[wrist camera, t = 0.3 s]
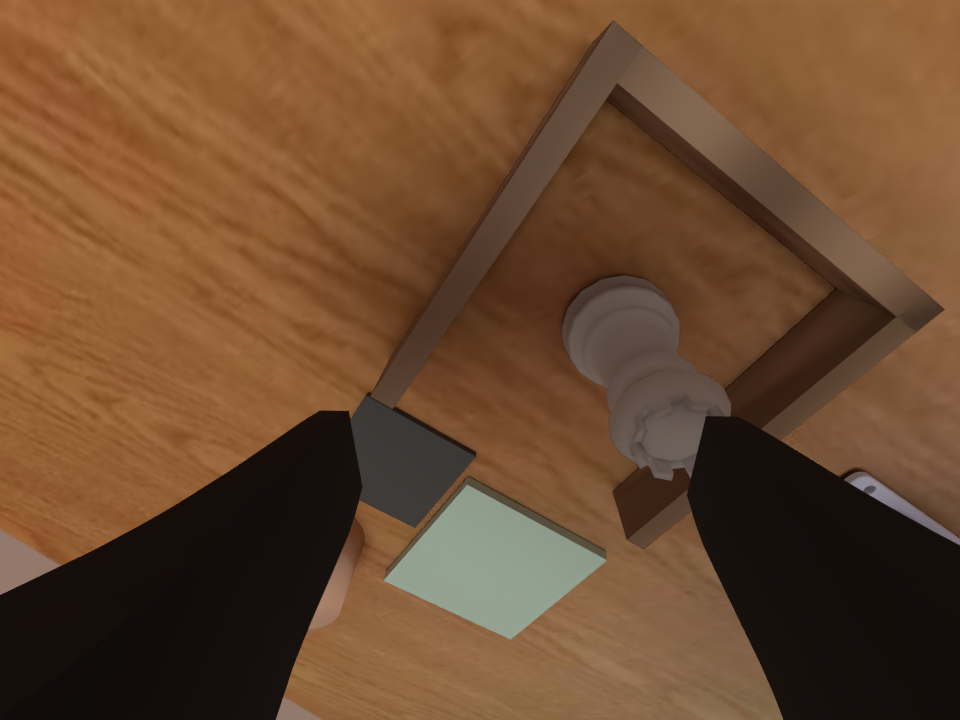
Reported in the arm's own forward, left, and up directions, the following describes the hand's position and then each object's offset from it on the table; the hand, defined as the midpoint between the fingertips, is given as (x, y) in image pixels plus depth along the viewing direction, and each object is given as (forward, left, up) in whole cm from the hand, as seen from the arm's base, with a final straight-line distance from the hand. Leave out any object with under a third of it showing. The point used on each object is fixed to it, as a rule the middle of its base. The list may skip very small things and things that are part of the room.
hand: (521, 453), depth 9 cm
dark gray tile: (0, +11, -10) cm, 15 cm away
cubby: (-4, -1, -10) cm, 11 cm away
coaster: (-8, +14, -10) cm, 19 cm away
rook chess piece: (-4, -1, -10) cm, 11 cm away
